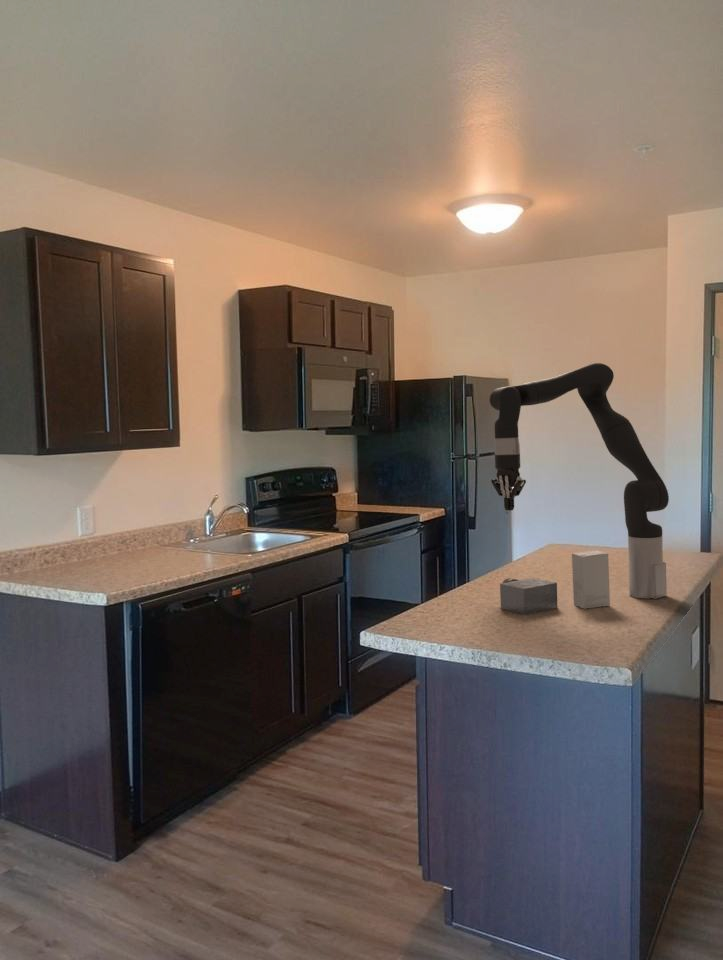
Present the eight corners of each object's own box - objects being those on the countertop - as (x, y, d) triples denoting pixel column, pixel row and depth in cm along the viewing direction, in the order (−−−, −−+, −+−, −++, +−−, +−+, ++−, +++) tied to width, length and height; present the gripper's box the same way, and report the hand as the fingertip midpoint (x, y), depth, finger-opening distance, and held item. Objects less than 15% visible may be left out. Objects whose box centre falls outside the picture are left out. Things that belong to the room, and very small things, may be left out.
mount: (500, 608, 216) (500, 583, 215) (533, 602, 222) (532, 577, 222) (524, 614, 208) (523, 588, 207) (557, 608, 214) (556, 582, 213)
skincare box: (599, 602, 219) (597, 549, 218) (611, 606, 213) (609, 552, 212) (572, 605, 216) (570, 551, 215) (583, 609, 211) (582, 555, 210)
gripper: (482, 454, 240) (485, 510, 240) (513, 453, 229) (516, 512, 229) (500, 452, 244) (503, 508, 245) (532, 452, 233) (534, 510, 234)
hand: (509, 510), depth 237 cm, fingers closed
